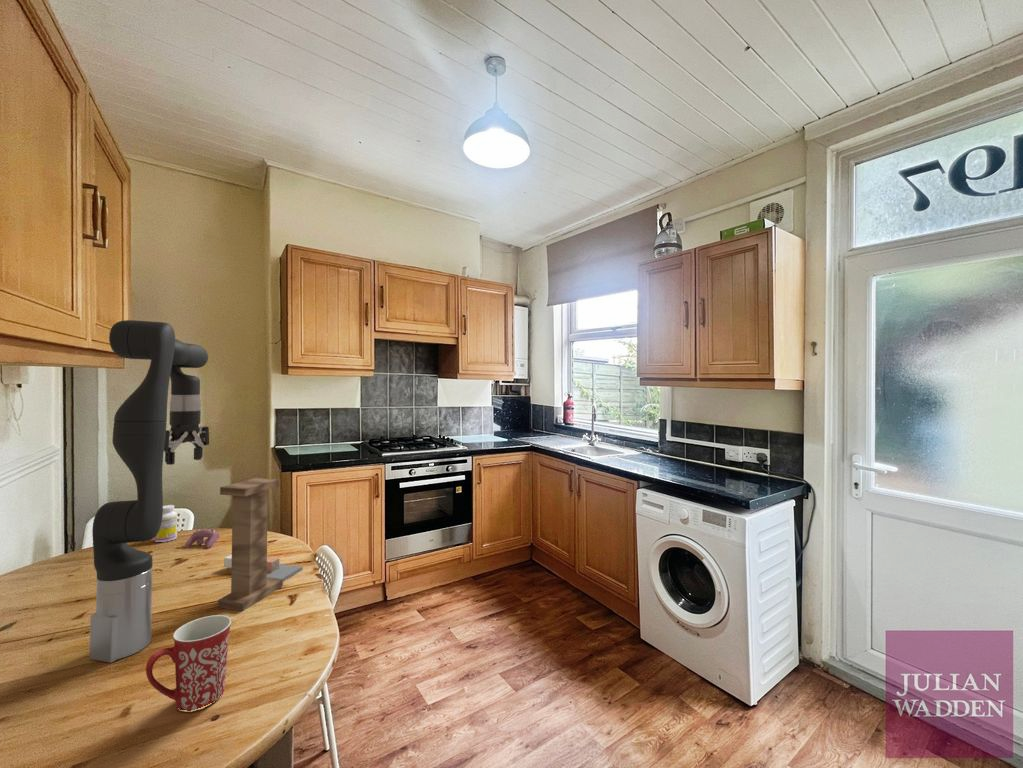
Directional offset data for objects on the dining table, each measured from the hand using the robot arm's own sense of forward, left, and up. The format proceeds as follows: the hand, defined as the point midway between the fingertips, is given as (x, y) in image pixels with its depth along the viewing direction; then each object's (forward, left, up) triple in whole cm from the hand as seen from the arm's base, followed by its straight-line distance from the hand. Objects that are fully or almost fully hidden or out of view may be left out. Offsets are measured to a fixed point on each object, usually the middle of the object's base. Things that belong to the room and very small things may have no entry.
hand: (184, 462), depth 127 cm
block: (+10, -16, -35) cm, 40 cm away
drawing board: (+9, -23, -36) cm, 44 cm away
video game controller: (+24, +19, -36) cm, 47 cm away
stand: (-4, -28, -36) cm, 46 cm away
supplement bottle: (+25, +38, -36) cm, 58 cm away
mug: (-40, -50, -36) cm, 74 cm away
